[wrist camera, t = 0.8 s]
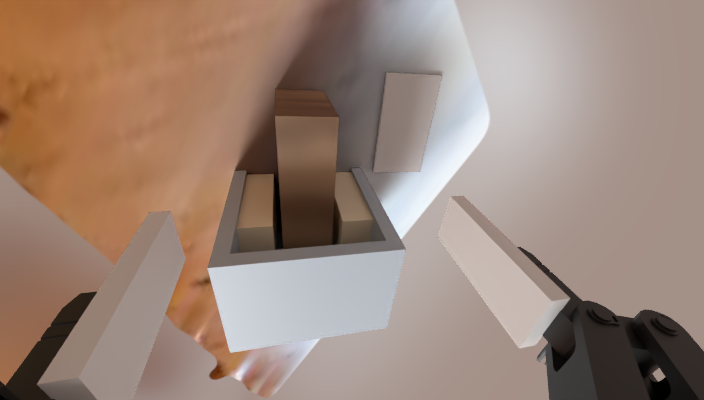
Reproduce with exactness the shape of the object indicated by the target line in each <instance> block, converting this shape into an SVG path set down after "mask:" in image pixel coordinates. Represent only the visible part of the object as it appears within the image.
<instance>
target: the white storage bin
mask: <svg viewBox="0 0 704 400" xmlns="http://www.w3.org/2000/svg"><path fill="white" fill-rule="evenodd" d="M405 251H406V249H405V247H404V245H403V243H402V241H401V239H400V238H399V236H398V234H397V232H396V230H395V229H394V227H393V225H392V223H391V221H390V219H389V218H388V216H387V214H386V212H385V210H384V209H383V207H382V205H381V203H380V201H379V199H378V198H377V196H376V194H375V192H374V190H373V189H372V187H371V185H370V183H369V181H368V180H367V178H366V176H365V174H364V172H363V170H362V169H361V168H351V172H336V180H335V197H334V215H333V232H332V245H327V246H316V247H304V248H292V249H283V236H282V232H278V226H277V212H276V199H275V185H274V174H250V175H247V171H246V170H244V171H234V175H233V178H232V182H231V185H230V189H229V193H228V196H227V200H226V204H225V207H224V211H223V214H222V218H221V222H220V225H219V229H218V233H217V236H216V240H215V243H214V247H213V251H212V254H211V258H210V262H209V265H208V271H209V275H210V279H211V283H212V286H213V290H214V294H215V298H216V301H217V305H218V309H219V313H220V316H221V320H222V324H223V327H224V331H225V335H226V339H227V342H228V346H229V350H230V353H232V352H238V351H244V350H250V349H257V348H263V347H269V346H275V345H282V344H288V343H294V342H300V341H307V340H313V339H319V338H325V337H331V336H338V335H344V334H350V333H356V332H363V331H369V330H375V329H381V328H387V325H388V320H389V316H390V312H391V308H392V304H393V300H394V296H395V292H396V288H397V284H398V280H399V276H400V272H401V267H402V264H403V260H404V256H405Z"/></svg>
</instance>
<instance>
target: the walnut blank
mask: <svg viewBox="0 0 704 400" xmlns="http://www.w3.org/2000/svg"><path fill="white" fill-rule="evenodd" d="M275 126H276V141H277V157H278V173H279V189H280V204H281V220H282V236H283V249H292V248H304V247H316V246H327V245H332V232H333V215H334V197H335V180H336V163H337V145H338V128H339V116H338V115H337V113H336V111H335V110H334V108H333V106H332V105H331V103H330V101H329V100H328V98H327V96H326V95H325V93H324V92H323V91H322V90H297V89H276V92H275Z"/></svg>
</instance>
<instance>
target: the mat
mask: <svg viewBox="0 0 704 400" xmlns="http://www.w3.org/2000/svg"><path fill="white" fill-rule="evenodd" d="M441 79H442V76H441V75H428V74H411V73H393V72H386V76H385V84H384V91H383V99H382V106H381V113H380V121H379V128H378V136H377V143H376V150H375V158H374V165H373V173H384V172H420V169H421V164H422V160H423V156H424V152H425V147H426V143H427V139H428V134H429V130H430V126H431V122H432V117H433V113H434V109H435V105H436V100H437V96H438V92H439V88H440V83H441Z"/></svg>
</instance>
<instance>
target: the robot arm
mask: <svg viewBox="0 0 704 400" xmlns="http://www.w3.org/2000/svg"><path fill="white" fill-rule="evenodd" d="M438 238H439V239H440V241H441V242H442V243H443V245H444V246H445V248H446V249H447V250H448V251H449V253H450V254H451V256H452V257H453V259H454V260H455V261H456V263H457V264H458V265H459V267H460V268H461V269H462V271H463V272H464V274H465V275H466V276H467V278H468V279H469V281H470V282H471V283H472V284H473V286H474V287H475V289H476V290H477V292H478V293H479V294H480V296H481V297H482V298H483V299H484V301H485V302H486V304H487V305H488V307H489V308H490V309H491V311H492V312H493V313H494V315H495V316H496V318H497V319H498V320H499V322H500V323H501V324H502V326H503V327H504V328H505V330H506V331H507V333H508V334H509V335H510V337H511V338H512V339H513V341H514V342H515V344H516V345H517V346H518V347H519V348H523V347H529V346H534V345H536V344H537V342H538V341H539V340H540V338H541V337H542V336H544V337H545V339H546V340H547V341H548V344H547V345H546V346H545V347H544V349H543V350H542V351H541V352H540V354H539V355H538V357H537V361H539V362H540V361H541V360H542V359H543V358H544V356H546V362H545V365H547V376H548V389H549V400H704V351H703V350H702V349H701V348H700V347H699V345H698V344H697V343H696V342H695V341H694V340H693V338H691V336H690V335H689V334H688V333H687V331H685V329H684V328H683V327H682V326H680V325H679V324H678V323H677V322H675V321H674V320H672V319H671V318H669V317H668V316H665V315H663V314H661V313H658V312H655V311H652V310H643V311H640V312H639V313H638V314H637V315H636V316H635V318H629V317H623V316H616V315H615V314H614V313H613V312H612V311H610V310H609V309H607V308H606V307H604V306H602V305H600V304H598V303H594V302H591V301H582V300H581V299H580V298H579V297H577V296H576V295H575V294H574V293H573V292H572V291H571V290H570V289H569V288H568V287H567V286H566V285H565V284H564V283H563V282H562V281H560V280H559V279H558V278H557V277H556V276H555V275H554V274H553V273H550V270H549V269H548V268H546V267H545V266H544V265H542V263H541V262H540V261H539V260H538V259H537V258H536V257H535V256H534V255H532V254H531V253H529V252H527V251H526V250H524V249H523V248H521V247H516V246H515V245H514V244H513V243H512V242H511V241H510V240H509V239H508V238H507V237H506V236H505V235H504V234H503V233H502V232H501V231H499V229H498V228H497V227H495V226H494V225H493V224H492V223H491V222H490V221H489V220H488V219H487V218H486V217H485V216H484V215H483V214H482V213H481V212H480V211H479V210H478V209H477V208H476V207H475V206H474V205H473V204H471V203H470V202H469V201H468V200H467V199H466V198H465V197H464V196H454V197H453V196H452V197H450V200H449V203H448V207H447V210H446V213H445V216H444V220H443V223H442V226H441V229H440V232H439V235H438ZM185 260H186V259H185V255H184V252H183V249H182V246H181V243H180V240H179V236H178V233H177V230H176V227H175V224H174V221H173V217H172V214H171V211H162V212H149V214H148V215H147V217H146V218H145V220H144V222H143V223H142V225H141V226H140V228H139V229H138V231H137V232H136V234H135V235H134V237H133V238H132V240H131V241H130V243H129V244H128V246H127V247H126V249H125V251H124V252H123V254H122V255H121V257H120V258H119V260H118V261H117V263H116V264H115V266H114V268H113V269H112V270H111V272H110V273H109V275H108V277H107V278H106V280H105V281H104V283H103V284H102V286H101V287H100V289H99V290H98V292H90V293H81V294H79V295H78V296H77V297H76V298H74V299H73V300H72V301H71V302H70V303H68V304H67V305H66V306H65V307H64V308H62V310H61V311H60V312H59V314H58V315H57V317H56V318H55V319H54V321H53V322H52V323H51V327H49V328H48V329H47V330H46V331H45V333H44V334H43V336H42V337H41V341H38V342H37V344H36V345H35V346H34V348H33V349H32V350H31V352H30V353H29V355H28V356H27V357H26V359H25V360H24V361H23V363H22V364H21V366H20V367H19V368H18V369H17V371H16V372H15V373H14V375H13V376H12V378H11V379H10V380H9V382H8V383H7V384H6V386H5V385H4V384H3V383H2V382H1V381H0V400H133V397H134V395H135V392H136V390H137V387H138V384H139V382H140V379H141V376H142V374H143V371H144V369H145V366H146V363H147V360H148V358H149V355H150V353H151V350H152V347H153V345H154V342H155V339H156V337H157V334H158V331H159V329H160V326H161V324H162V321H163V318H164V316H165V313H166V310H167V308H168V305H169V302H170V300H171V297H172V294H173V292H174V289H175V287H176V284H177V281H178V279H179V276H180V273H181V271H182V268H183V265H184V263H185ZM658 368H660V369H661V370H662V372H663V374H664V375H665V376H666V377H665V378H664V379H663V380H661V381H659V382H658V381H657V380H656V379H655V377H654V376H653V374H652V373H653V372H654V371H656V370H657V369H658Z"/></svg>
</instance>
